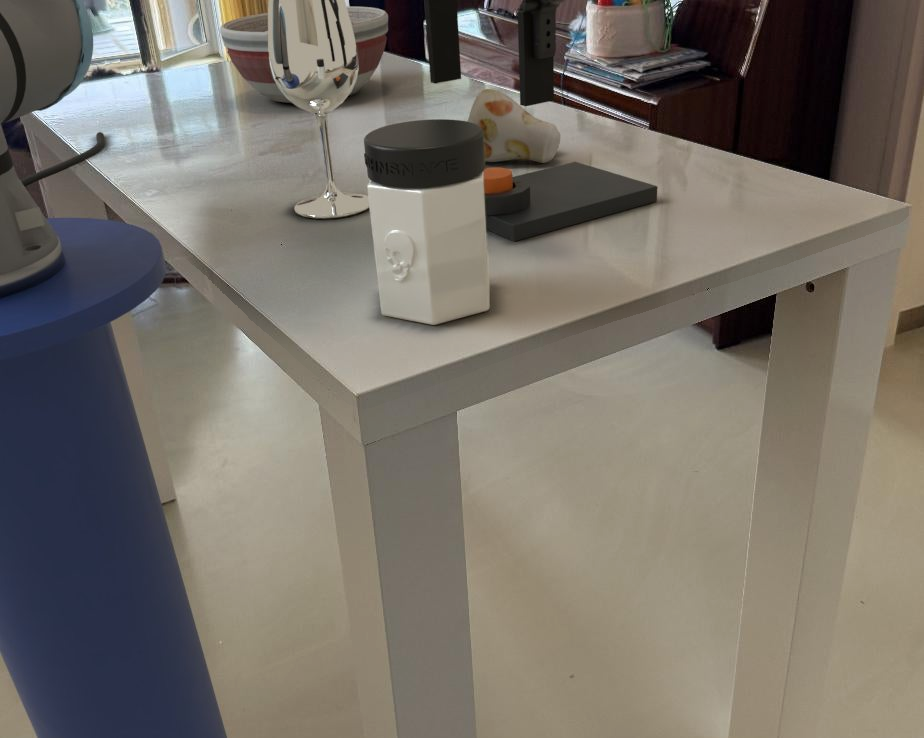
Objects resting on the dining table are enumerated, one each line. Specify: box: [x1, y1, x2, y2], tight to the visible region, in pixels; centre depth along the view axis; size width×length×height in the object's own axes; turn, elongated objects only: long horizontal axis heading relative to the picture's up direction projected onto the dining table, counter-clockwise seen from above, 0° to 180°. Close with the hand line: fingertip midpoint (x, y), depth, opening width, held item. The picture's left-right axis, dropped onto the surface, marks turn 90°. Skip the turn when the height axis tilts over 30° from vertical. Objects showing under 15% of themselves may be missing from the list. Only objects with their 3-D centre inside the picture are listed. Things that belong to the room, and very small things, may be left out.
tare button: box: [484, 167, 513, 194], centre depth 85 cm, size 4×4×2 cm
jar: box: [363, 118, 491, 326], centre depth 69 cm, size 9×8×12 cm
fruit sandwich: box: [467, 88, 561, 164], centre depth 102 cm, size 8×10×10 cm
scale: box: [486, 161, 659, 242], centre depth 89 cm, size 12×17×3 cm
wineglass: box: [267, 0, 370, 220], centre depth 88 cm, size 8×8×20 cm
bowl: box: [219, 5, 389, 104], centre depth 136 cm, size 23×23×10 cm
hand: (488, 91), depth 81 cm, fingers open, 13 cm apart
